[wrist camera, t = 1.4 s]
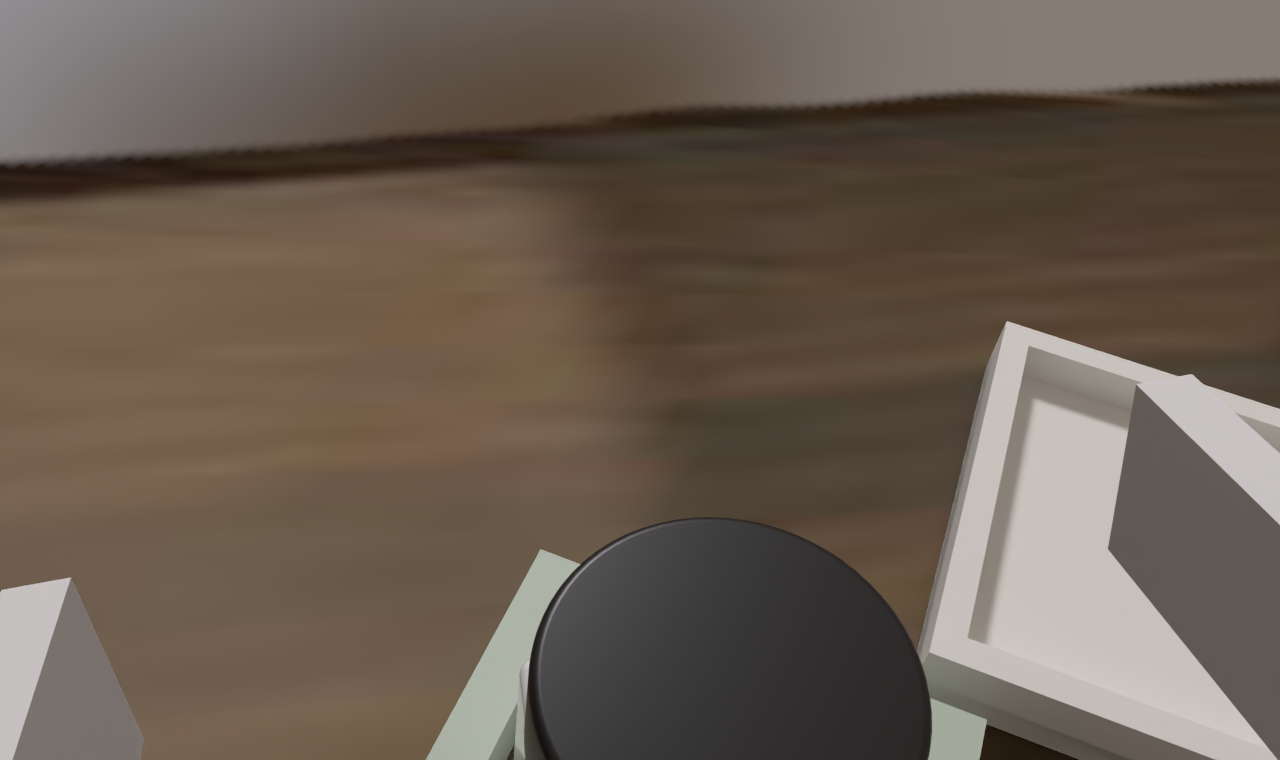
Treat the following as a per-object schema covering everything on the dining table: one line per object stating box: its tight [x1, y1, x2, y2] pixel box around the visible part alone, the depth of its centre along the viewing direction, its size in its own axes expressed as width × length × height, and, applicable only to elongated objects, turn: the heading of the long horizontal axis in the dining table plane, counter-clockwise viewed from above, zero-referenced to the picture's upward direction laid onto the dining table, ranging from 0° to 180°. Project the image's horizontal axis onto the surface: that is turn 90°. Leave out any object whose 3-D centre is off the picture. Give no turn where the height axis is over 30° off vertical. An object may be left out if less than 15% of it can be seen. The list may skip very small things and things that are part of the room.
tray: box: [917, 321, 1280, 760], centre depth 41 cm, size 16×16×2 cm
